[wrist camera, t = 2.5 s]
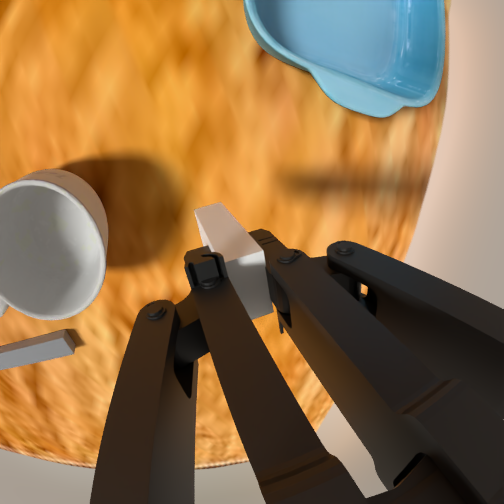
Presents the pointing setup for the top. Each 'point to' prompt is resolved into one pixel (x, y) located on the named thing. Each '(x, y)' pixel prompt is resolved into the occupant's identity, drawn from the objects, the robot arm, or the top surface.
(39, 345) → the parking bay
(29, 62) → the top surface
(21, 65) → the top surface
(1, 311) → the teacup
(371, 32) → the casserole dish
